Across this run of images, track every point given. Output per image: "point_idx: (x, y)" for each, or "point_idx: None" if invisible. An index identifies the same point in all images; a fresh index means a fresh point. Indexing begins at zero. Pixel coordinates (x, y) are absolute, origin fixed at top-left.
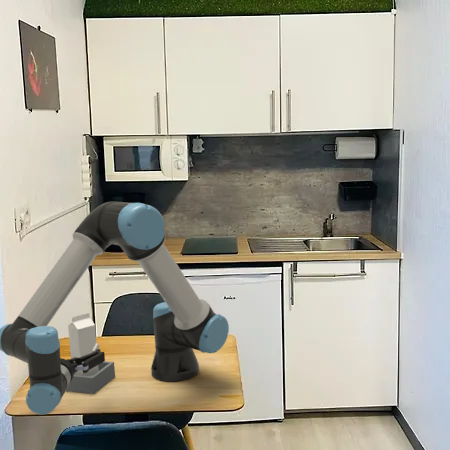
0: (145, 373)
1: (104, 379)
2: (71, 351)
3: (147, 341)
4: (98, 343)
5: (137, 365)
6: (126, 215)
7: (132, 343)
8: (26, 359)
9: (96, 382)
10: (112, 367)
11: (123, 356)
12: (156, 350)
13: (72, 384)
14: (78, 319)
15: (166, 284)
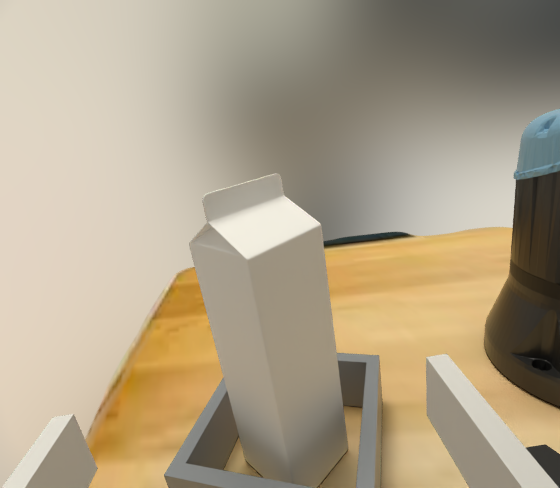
0: (472, 371)
1: (379, 450)
2: (222, 354)
3: (359, 257)
4: (447, 356)
5: (406, 332)
6: None
7: (331, 265)
8: None
9: None
10: (379, 378)
11: (339, 302)
12: (551, 300)
13: None
14: (236, 205)
15: None
